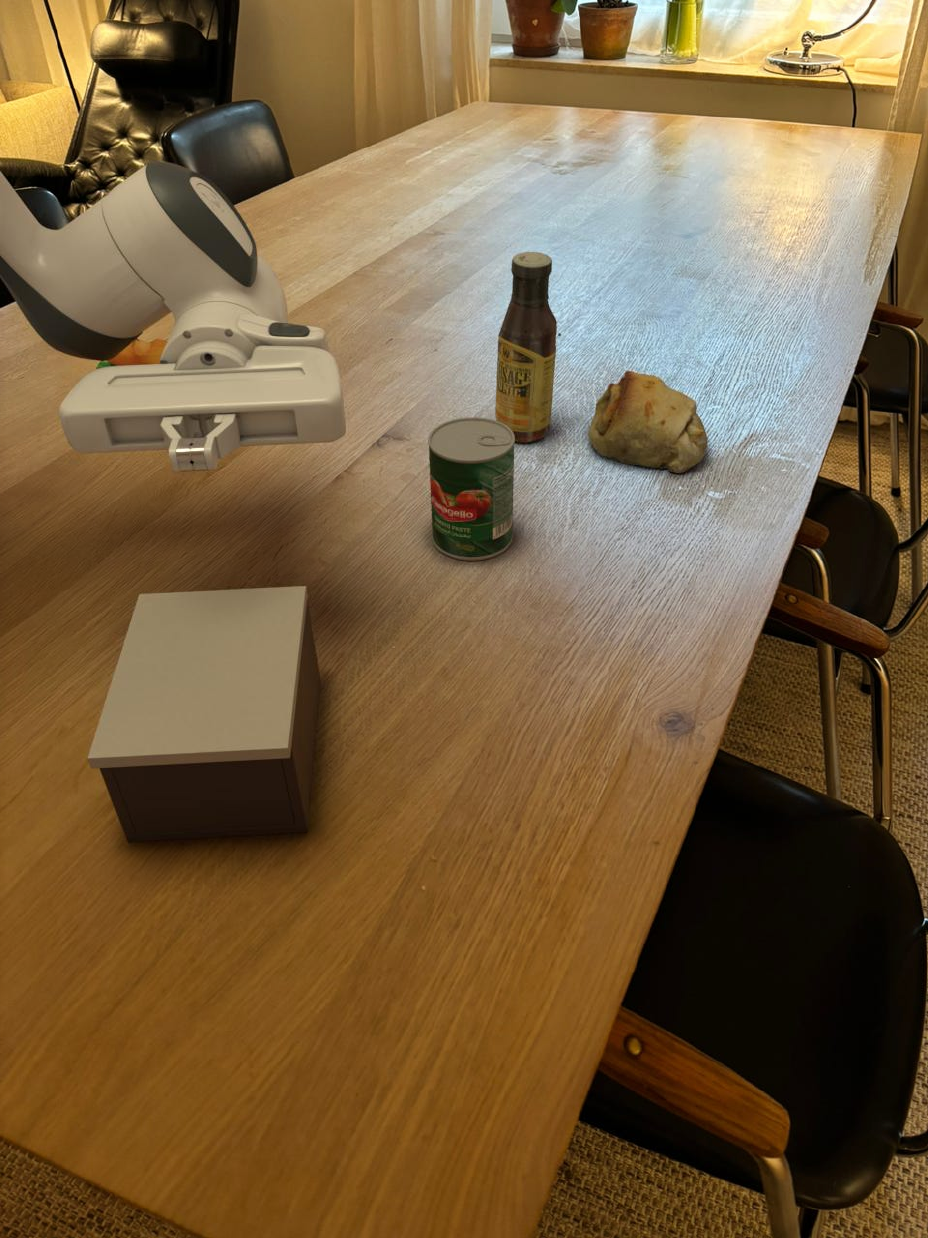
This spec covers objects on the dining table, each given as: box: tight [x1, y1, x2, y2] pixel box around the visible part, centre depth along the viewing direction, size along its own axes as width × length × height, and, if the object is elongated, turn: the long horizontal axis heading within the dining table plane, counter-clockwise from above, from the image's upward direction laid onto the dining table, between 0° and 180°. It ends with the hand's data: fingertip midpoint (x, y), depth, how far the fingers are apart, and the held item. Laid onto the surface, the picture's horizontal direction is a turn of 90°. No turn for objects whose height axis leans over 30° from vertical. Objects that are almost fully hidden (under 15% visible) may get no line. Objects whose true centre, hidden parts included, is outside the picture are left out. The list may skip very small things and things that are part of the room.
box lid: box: [86, 585, 308, 769], centre depth 69 cm, size 17×13×1 cm
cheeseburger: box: [95, 338, 168, 370], centre depth 116 cm, size 10×11×10 cm
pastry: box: [588, 370, 709, 474], centre depth 107 cm, size 14×12×8 cm
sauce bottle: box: [494, 251, 558, 444], centre depth 106 cm, size 6×6×20 cm
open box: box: [98, 596, 321, 843], centre depth 73 cm, size 16×13×9 cm
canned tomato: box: [427, 416, 516, 562], centre depth 93 cm, size 8×8×11 cm
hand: (191, 462), depth 67 cm, fingers closed
